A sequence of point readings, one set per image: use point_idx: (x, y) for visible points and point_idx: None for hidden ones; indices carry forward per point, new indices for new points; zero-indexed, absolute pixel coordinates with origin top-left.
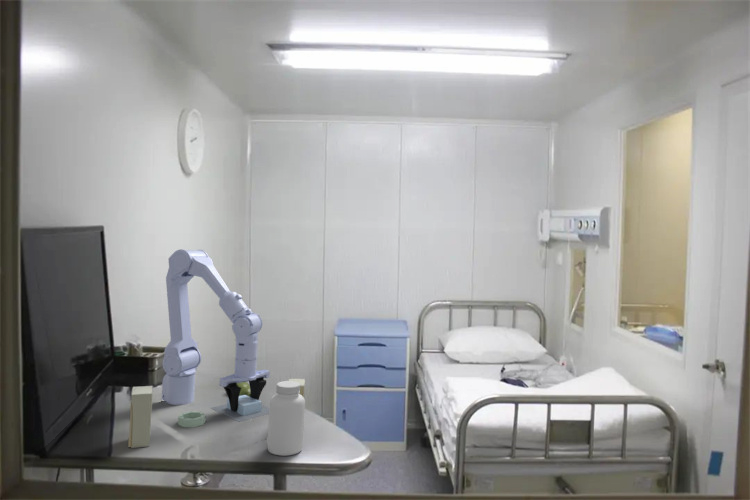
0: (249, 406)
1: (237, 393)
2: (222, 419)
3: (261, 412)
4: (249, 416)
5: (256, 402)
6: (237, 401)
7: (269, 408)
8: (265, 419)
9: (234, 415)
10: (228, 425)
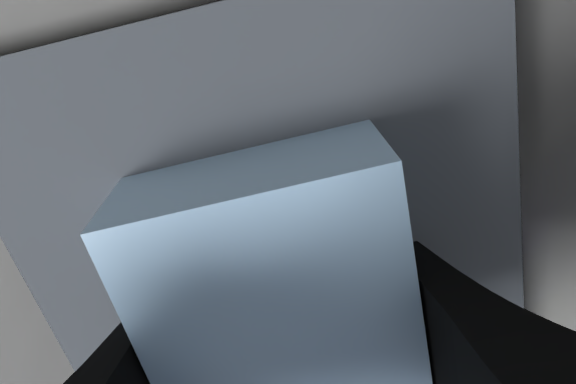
0: (294, 174)
1: (550, 368)
2: None
3: (131, 129)
4: (315, 59)
5: (168, 224)
6: (449, 296)
7: (2, 218)
8: (119, 16)
9: (448, 173)
10: (555, 31)
